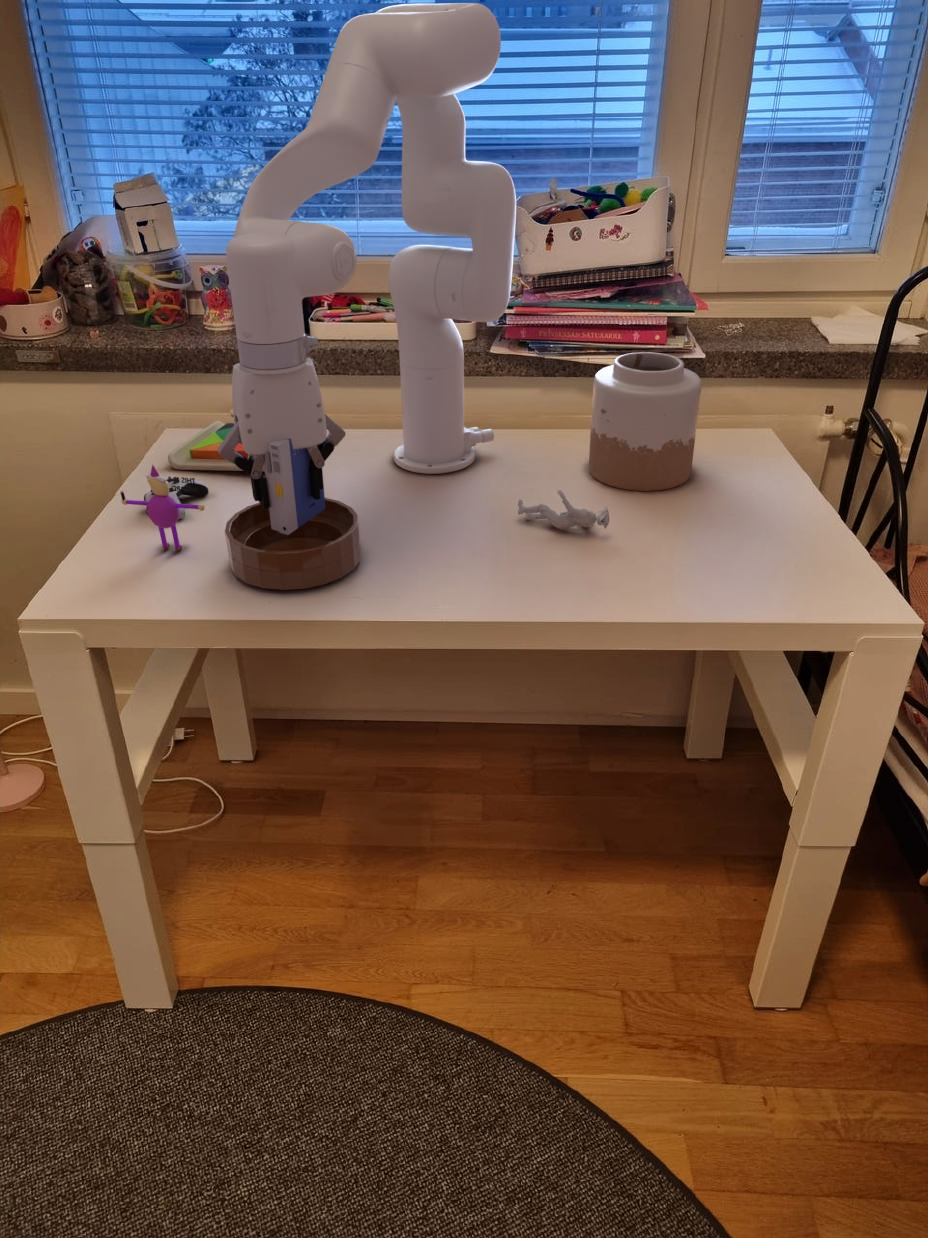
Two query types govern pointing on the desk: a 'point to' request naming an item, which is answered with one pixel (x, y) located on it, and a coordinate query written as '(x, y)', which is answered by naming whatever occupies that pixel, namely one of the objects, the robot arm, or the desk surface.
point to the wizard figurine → (164, 505)
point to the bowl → (293, 548)
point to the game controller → (182, 492)
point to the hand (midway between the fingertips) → (289, 498)
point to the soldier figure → (565, 515)
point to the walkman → (290, 487)
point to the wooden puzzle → (205, 450)
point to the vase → (644, 422)
